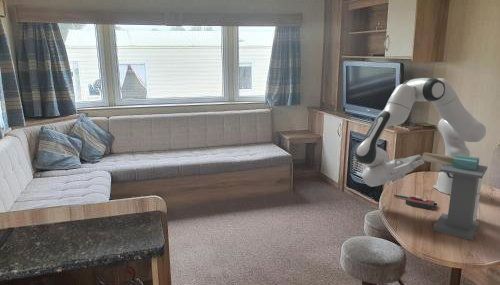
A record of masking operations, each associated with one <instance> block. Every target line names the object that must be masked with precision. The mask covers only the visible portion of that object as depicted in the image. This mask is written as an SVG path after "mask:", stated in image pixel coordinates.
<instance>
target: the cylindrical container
mask: <svg viewBox="0 0 500 285" xmlns="http://www.w3.org/2000/svg"><path fill="white" fill-rule="evenodd" d="M479 165H481V166H485V164H484V163H483V162H480V161H479ZM482 182H483V178H482V179H481V178H479V181H478V188H477V194H476V201H475V208H474V215H473V221H477V215H478V208H479V202H480V196H481V189H482V184H483V183H482Z"/></svg>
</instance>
